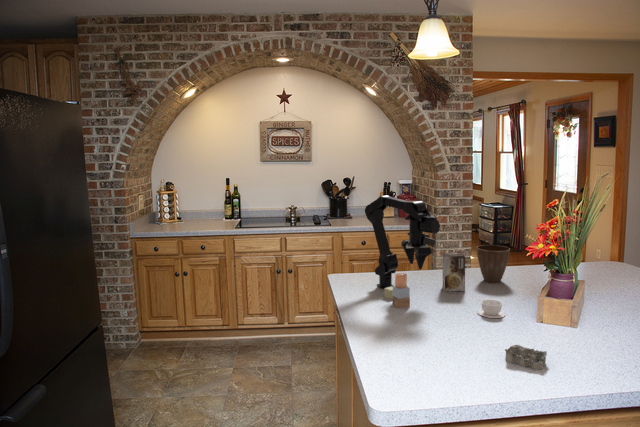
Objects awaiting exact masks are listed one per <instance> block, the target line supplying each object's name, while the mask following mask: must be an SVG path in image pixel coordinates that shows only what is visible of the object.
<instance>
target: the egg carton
mask: <svg viewBox="0 0 640 427" xmlns="http://www.w3.org/2000/svg"><path fill="white" fill-rule="evenodd" d="M504 351H505V361H507V362H508V363H510V364H519V366H521V367H530V368H532V369H533V370H543V368H544V366H545V365H546V359H547V354H548V351H547V350H546V351H542V350H538V349H536V350H535V348H529V347H524V346H521V345H519V344H514V345H511V346H509V348H505V349H504Z"/></svg>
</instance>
